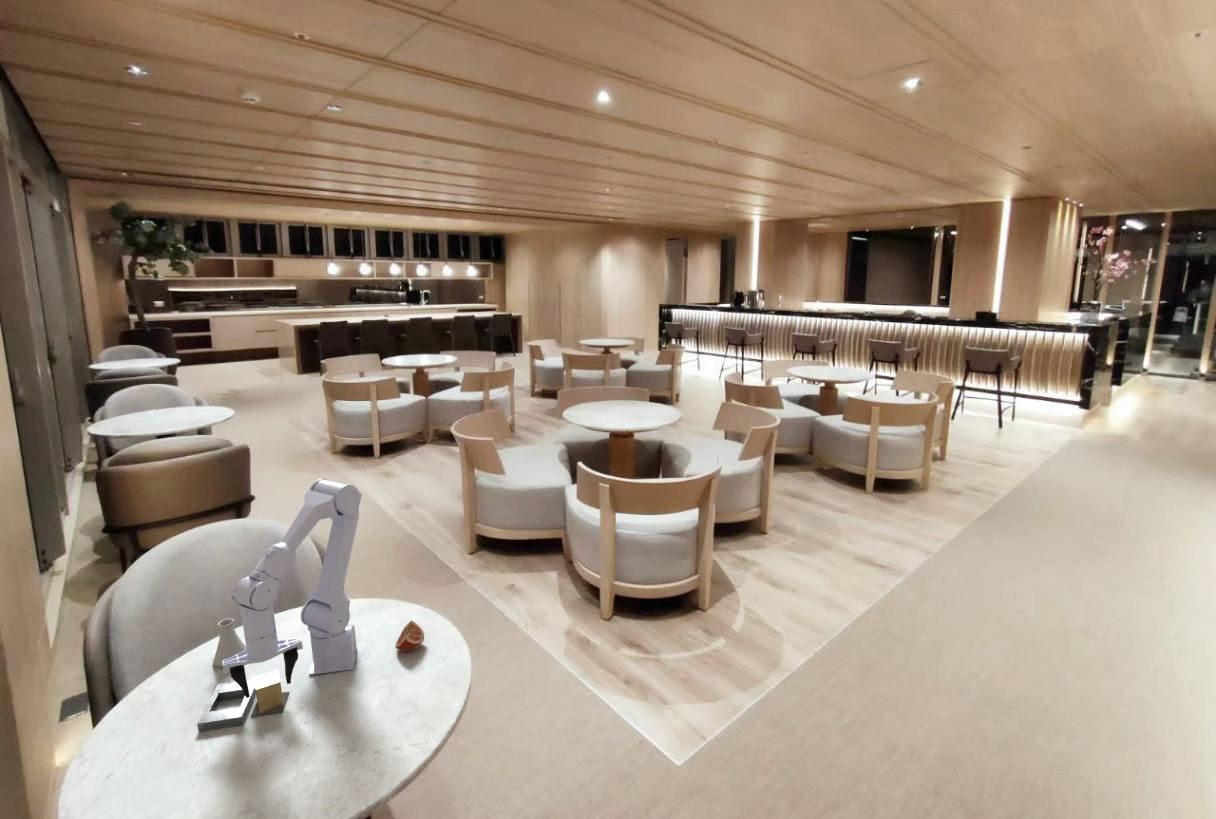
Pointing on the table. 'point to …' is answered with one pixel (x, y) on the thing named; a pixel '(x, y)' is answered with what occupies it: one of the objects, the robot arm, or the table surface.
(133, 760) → the table surface
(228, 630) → the flask
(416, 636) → the fruit slice
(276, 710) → the flat gray plate
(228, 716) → the gray rectangular frame
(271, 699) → the block
